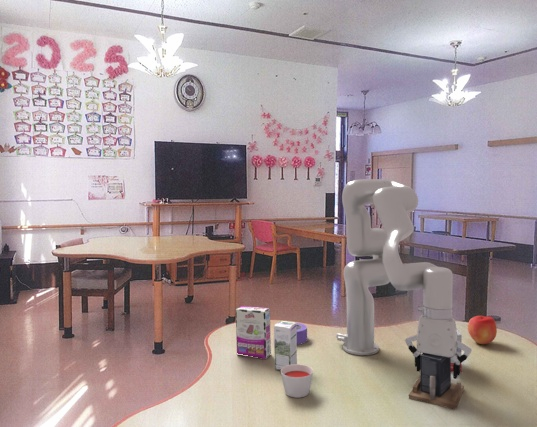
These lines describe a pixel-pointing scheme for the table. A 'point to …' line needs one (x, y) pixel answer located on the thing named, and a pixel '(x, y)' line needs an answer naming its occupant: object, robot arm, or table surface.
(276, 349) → the syrup box
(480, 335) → the apple
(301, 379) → the candle
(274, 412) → the table surface
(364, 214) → the robot arm
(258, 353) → the candy bar box
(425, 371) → the box
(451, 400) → the cradle
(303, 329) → the tape roll
